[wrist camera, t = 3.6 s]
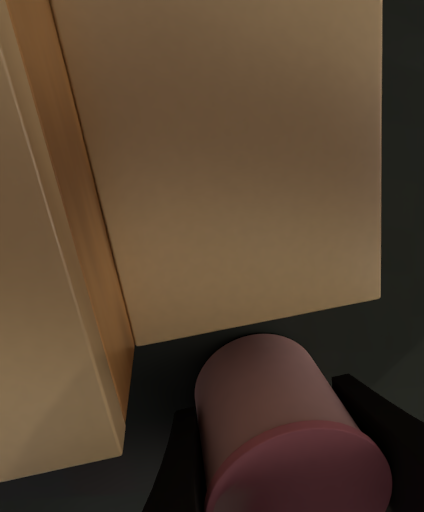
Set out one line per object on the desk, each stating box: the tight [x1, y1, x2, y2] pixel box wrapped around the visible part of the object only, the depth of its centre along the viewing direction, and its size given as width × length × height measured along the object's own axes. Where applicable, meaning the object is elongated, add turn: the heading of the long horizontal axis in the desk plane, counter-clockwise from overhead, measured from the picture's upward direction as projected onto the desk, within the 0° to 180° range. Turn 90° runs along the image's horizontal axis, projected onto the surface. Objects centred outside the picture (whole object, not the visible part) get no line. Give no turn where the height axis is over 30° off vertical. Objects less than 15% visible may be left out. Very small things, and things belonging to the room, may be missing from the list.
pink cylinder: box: [195, 334, 392, 512], centre depth 12 cm, size 5×5×5 cm
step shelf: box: [0, 0, 382, 482], centre depth 8 cm, size 10×12×6 cm
